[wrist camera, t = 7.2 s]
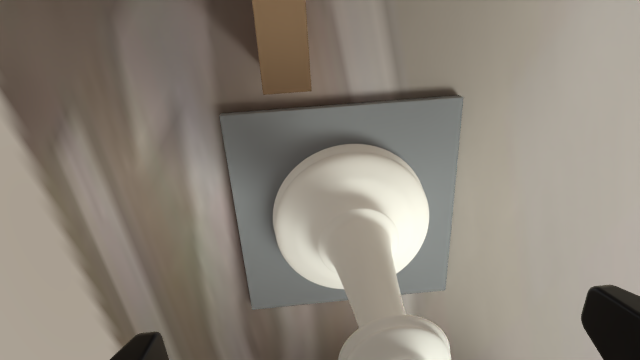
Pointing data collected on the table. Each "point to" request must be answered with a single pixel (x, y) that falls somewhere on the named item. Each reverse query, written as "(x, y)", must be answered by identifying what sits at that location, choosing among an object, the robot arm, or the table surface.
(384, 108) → the pad
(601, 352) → the robot arm
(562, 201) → the table surface
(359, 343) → the chess piece
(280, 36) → the wooden frame
